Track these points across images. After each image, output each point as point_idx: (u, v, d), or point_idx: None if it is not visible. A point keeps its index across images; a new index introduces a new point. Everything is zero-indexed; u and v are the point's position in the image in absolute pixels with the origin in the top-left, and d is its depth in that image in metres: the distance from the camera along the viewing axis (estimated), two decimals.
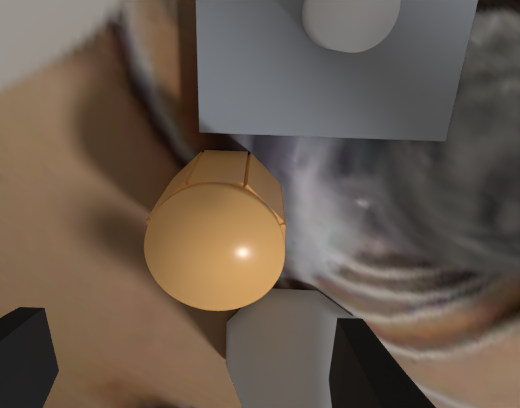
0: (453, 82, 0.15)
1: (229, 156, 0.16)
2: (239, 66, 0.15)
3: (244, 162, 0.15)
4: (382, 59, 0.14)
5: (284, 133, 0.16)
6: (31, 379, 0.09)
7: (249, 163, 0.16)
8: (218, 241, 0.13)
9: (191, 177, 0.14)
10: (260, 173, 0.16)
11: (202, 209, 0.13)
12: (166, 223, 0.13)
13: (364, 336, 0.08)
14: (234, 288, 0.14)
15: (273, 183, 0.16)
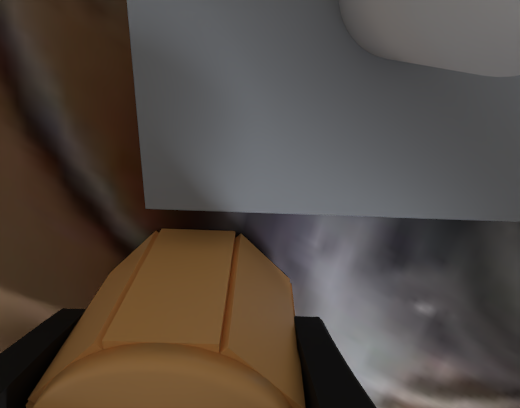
0: None
1: (202, 245, 0.09)
2: (216, 92, 0.08)
3: (227, 265, 0.08)
4: (492, 78, 0.07)
5: (300, 210, 0.09)
6: None
7: (236, 264, 0.09)
8: None
9: (113, 325, 0.07)
10: (256, 280, 0.09)
11: (129, 407, 0.06)
12: None
13: (316, 334, 0.08)
14: None
15: (279, 291, 0.09)
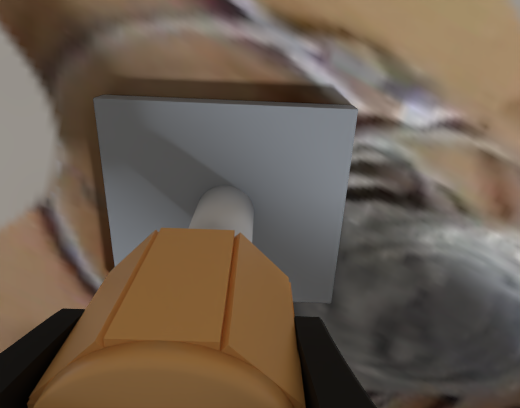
0: (332, 261, 0.17)
1: (202, 244, 0.09)
2: None
3: (227, 264, 0.08)
4: (269, 244, 0.17)
5: None
6: None
7: (236, 263, 0.09)
8: None
9: (114, 323, 0.07)
10: (256, 279, 0.09)
11: (131, 405, 0.06)
12: None
13: (316, 334, 0.08)
14: None
15: (278, 289, 0.09)
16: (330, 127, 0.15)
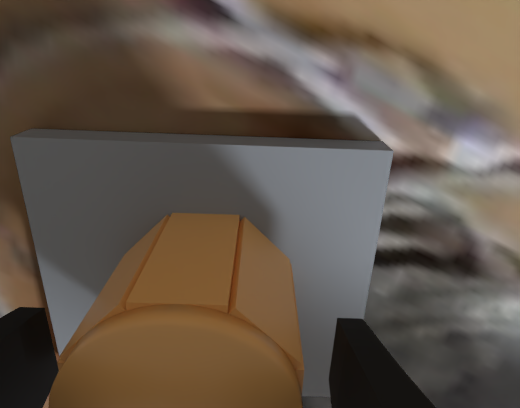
0: None
1: (210, 226, 0.10)
2: None
3: (233, 243, 0.09)
4: None
5: None
6: (31, 379, 0.09)
7: (241, 242, 0.10)
8: (182, 407, 0.07)
9: (134, 290, 0.08)
10: (259, 257, 0.10)
11: (151, 358, 0.07)
12: (86, 381, 0.07)
13: (364, 336, 0.08)
14: None
15: (280, 268, 0.10)
16: (353, 176, 0.10)
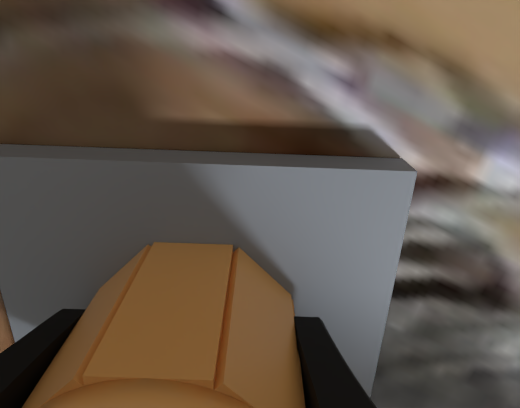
0: (365, 391, 0.11)
1: (197, 261, 0.09)
2: None
3: (223, 284, 0.08)
4: None
5: None
6: None
7: (234, 282, 0.08)
8: None
9: (96, 356, 0.06)
10: (255, 300, 0.08)
11: None
12: None
13: (316, 334, 0.08)
14: None
15: (280, 310, 0.09)
16: (369, 200, 0.09)
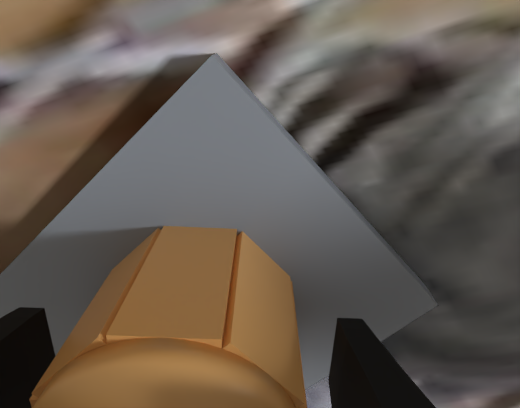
0: (385, 257, 0.10)
1: (273, 277, 0.10)
2: None
3: (292, 314, 0.09)
4: None
5: None
6: (31, 379, 0.09)
7: (295, 316, 0.09)
8: None
9: (234, 328, 0.07)
10: None
11: None
12: (133, 390, 0.06)
13: (364, 336, 0.08)
14: None
15: None
16: (205, 110, 0.09)
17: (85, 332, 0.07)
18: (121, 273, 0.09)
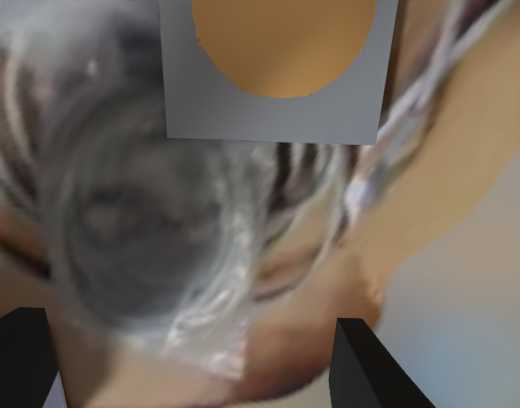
0: (220, 135, 0.17)
1: None
2: None
3: None
4: None
5: None
6: (31, 379, 0.09)
7: None
8: (277, 24, 0.11)
9: None
10: None
11: (293, 71, 0.11)
12: (339, 50, 0.11)
13: (364, 336, 0.08)
14: None
15: None
16: (361, 122, 0.16)
17: None
18: None
